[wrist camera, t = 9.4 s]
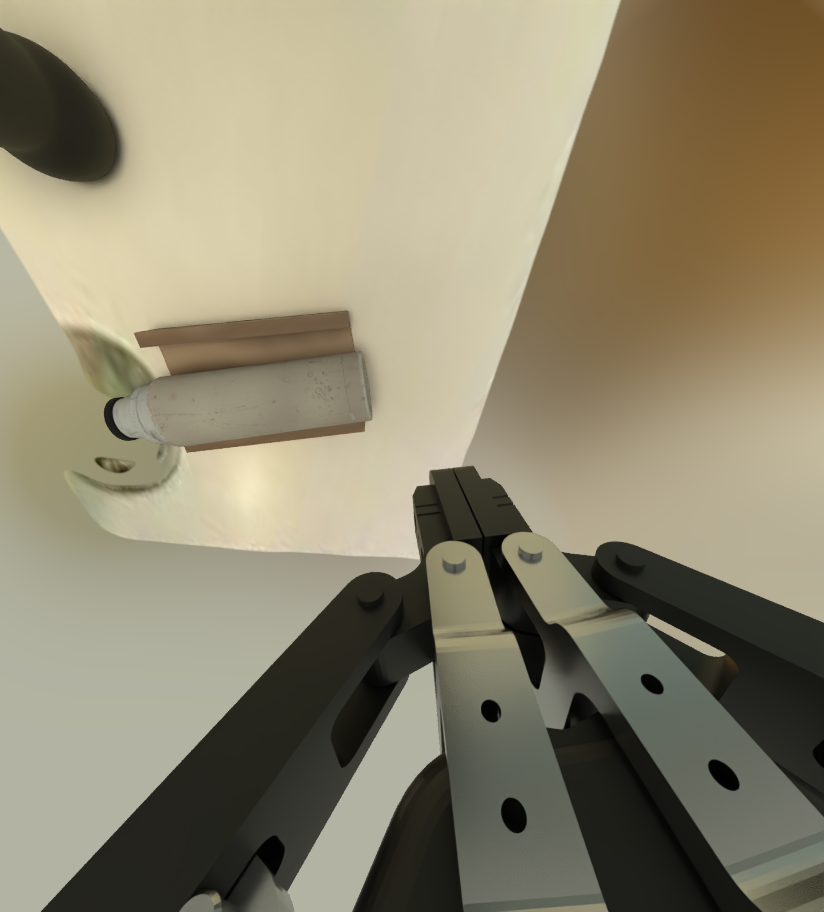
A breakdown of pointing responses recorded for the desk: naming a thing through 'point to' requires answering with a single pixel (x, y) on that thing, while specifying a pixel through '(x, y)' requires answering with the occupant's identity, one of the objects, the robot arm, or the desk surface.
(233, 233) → the desk surface
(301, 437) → the walnut trough
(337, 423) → the thermos bottle
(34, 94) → the cola bottle
